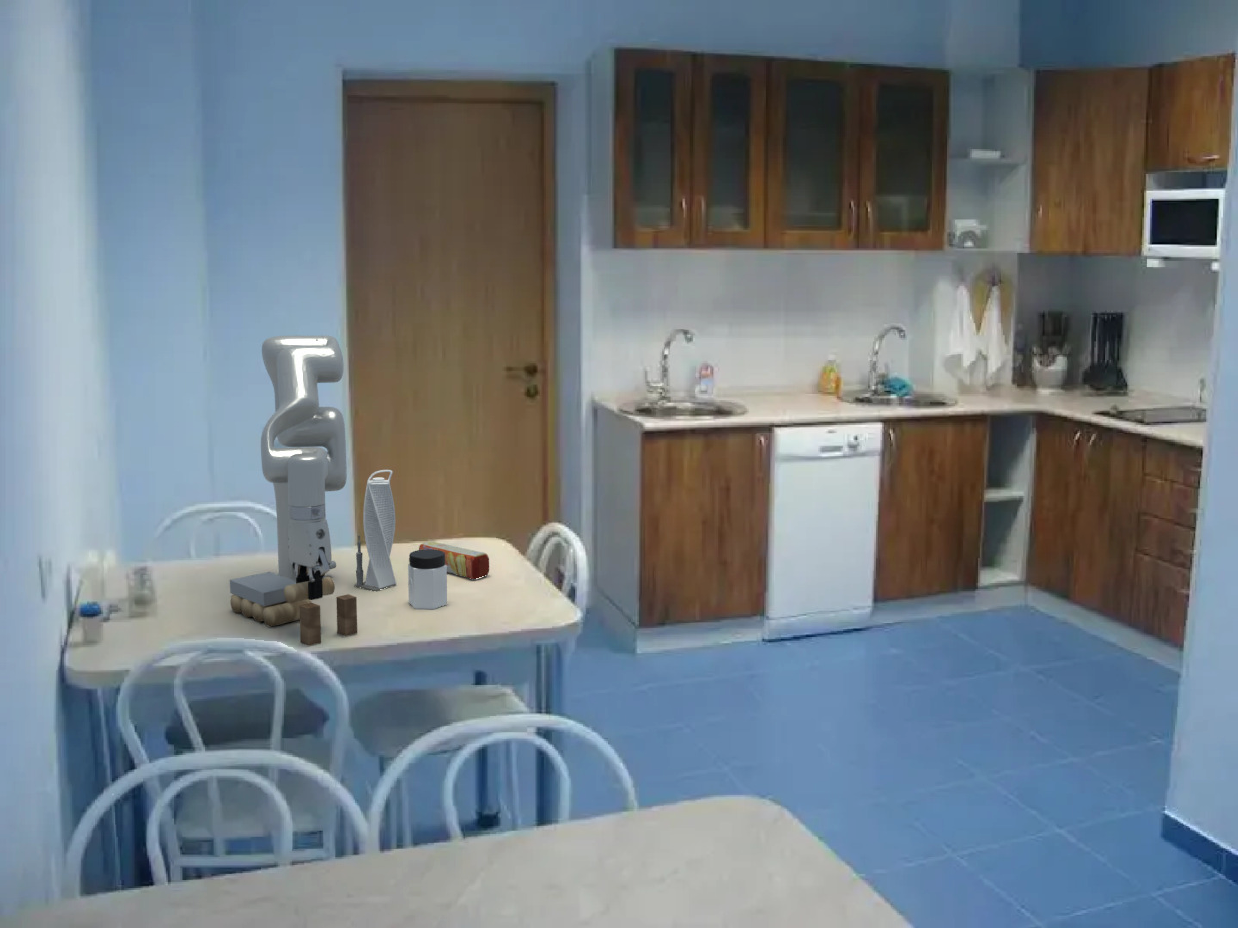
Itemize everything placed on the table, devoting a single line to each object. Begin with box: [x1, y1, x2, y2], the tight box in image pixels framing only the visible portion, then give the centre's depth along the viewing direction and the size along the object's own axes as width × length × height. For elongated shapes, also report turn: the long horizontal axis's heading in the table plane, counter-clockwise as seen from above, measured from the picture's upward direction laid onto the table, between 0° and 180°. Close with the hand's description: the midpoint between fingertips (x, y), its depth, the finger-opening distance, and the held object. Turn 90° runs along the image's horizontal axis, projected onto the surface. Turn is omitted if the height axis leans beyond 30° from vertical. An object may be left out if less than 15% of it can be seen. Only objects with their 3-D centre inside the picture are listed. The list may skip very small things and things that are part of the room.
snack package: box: [418, 540, 490, 580], centre depth 318 cm, size 21×7×7 cm, turn 48°
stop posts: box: [299, 593, 358, 647], centre depth 265 cm, size 12×3×8 cm, turn 137°
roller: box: [284, 576, 336, 603], centre depth 269 cm, size 10×4×4 cm, turn 137°
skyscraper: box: [354, 469, 397, 592], centre depth 302 cm, size 8×8×28 cm
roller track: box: [229, 594, 313, 628], centre depth 280 cm, size 10×18×4 cm, turn 47°
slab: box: [229, 571, 296, 606], centre depth 281 cm, size 10×14×3 cm
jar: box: [407, 549, 448, 610], centre depth 290 cm, size 9×8×12 cm
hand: (309, 595), depth 269 cm, fingers closed on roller, 3 cm apart
